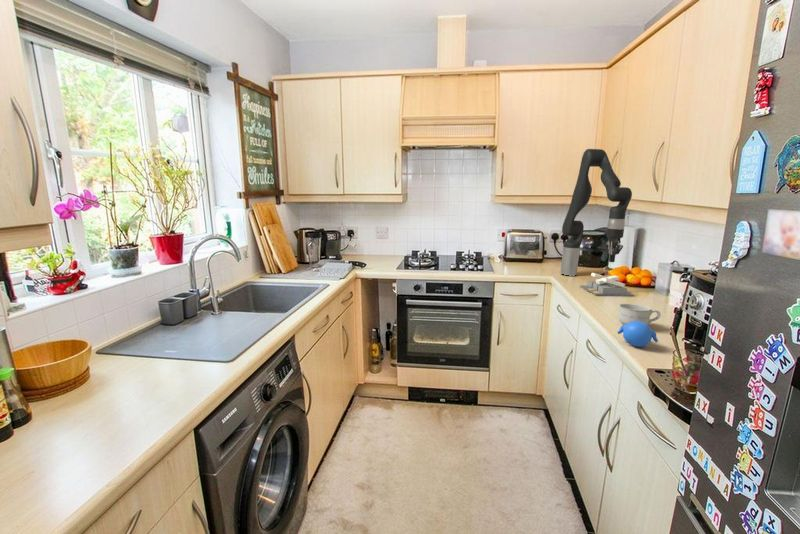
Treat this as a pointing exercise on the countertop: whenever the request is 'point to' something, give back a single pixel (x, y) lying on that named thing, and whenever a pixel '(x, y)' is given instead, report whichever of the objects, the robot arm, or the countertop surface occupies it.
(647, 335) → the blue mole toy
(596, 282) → the rocker
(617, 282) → the rocker
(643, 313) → the teacup
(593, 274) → the rocker
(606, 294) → the switch unit
